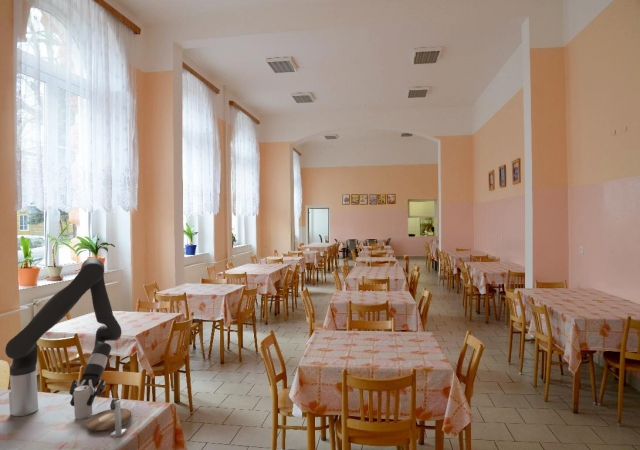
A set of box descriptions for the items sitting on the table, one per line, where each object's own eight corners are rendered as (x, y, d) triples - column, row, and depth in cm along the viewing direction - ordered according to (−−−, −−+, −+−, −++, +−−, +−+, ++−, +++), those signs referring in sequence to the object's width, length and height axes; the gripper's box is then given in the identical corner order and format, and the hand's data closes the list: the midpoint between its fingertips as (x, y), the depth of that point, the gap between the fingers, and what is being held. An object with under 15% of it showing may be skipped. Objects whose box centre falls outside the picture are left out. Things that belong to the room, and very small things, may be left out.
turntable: (77, 430, 163) (77, 427, 163) (101, 411, 179) (101, 408, 179) (118, 430, 162) (118, 427, 162) (138, 410, 178) (138, 408, 178)
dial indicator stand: (110, 437, 160) (108, 402, 160) (117, 430, 165) (115, 396, 165) (121, 436, 160) (119, 402, 160) (127, 430, 165) (126, 396, 164)
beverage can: (84, 420, 174) (83, 391, 174) (71, 419, 176) (69, 390, 175) (96, 413, 181) (94, 384, 180) (82, 412, 182) (81, 384, 182)
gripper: (75, 363, 186) (58, 402, 174) (107, 362, 185) (93, 401, 173) (83, 370, 191) (67, 409, 180) (115, 370, 190) (101, 408, 179)
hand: (80, 405), depth 176 cm, fingers closed on beverage can, 6 cm apart
